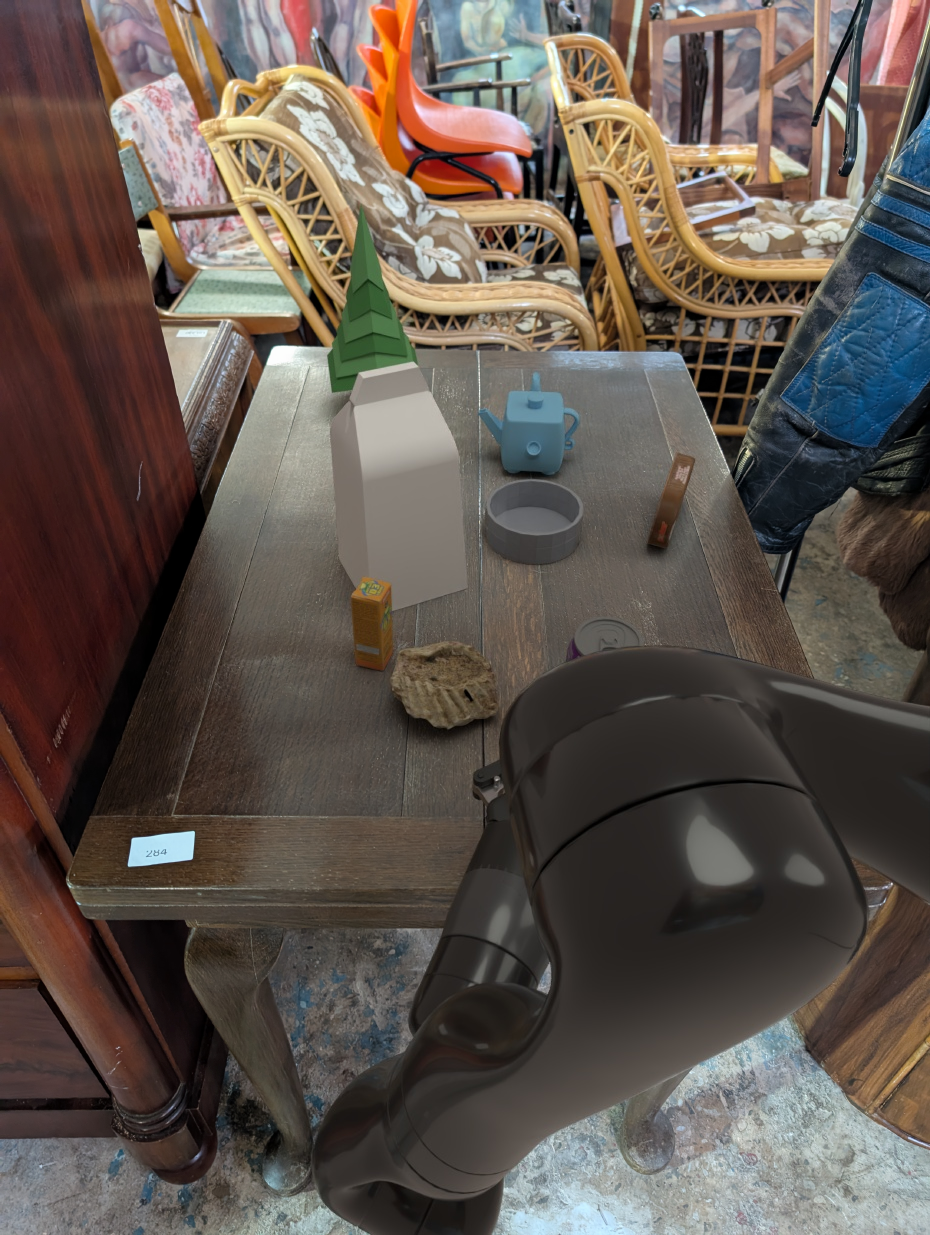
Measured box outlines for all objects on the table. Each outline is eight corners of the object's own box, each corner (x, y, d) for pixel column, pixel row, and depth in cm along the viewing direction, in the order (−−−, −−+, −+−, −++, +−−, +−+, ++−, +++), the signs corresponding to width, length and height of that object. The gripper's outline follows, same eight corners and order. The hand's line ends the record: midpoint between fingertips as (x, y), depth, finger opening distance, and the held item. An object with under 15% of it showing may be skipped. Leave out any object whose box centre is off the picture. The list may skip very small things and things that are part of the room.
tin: (664, 493, 108) (676, 438, 103) (687, 498, 108) (700, 443, 102) (642, 557, 98) (653, 500, 92) (667, 563, 97) (680, 506, 92)
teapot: (576, 497, 108) (584, 431, 101) (473, 492, 108) (474, 426, 101) (573, 430, 121) (580, 368, 114) (481, 426, 122) (482, 364, 115)
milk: (372, 617, 90) (350, 408, 72) (339, 559, 98) (312, 357, 80) (467, 588, 94) (469, 382, 76) (429, 535, 101) (422, 336, 84)
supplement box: (385, 673, 84) (379, 602, 77) (355, 666, 84) (346, 595, 78) (396, 651, 86) (391, 581, 79) (367, 645, 87) (359, 574, 80)
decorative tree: (351, 383, 132) (330, 184, 111) (439, 399, 128) (434, 195, 108) (312, 422, 122) (282, 211, 102) (406, 439, 119) (395, 225, 98)
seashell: (490, 752, 80) (509, 659, 83) (493, 736, 73) (514, 636, 77) (381, 728, 80) (405, 638, 84) (375, 710, 74) (401, 613, 78)
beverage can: (634, 755, 76) (655, 669, 68) (560, 754, 76) (572, 668, 68) (624, 699, 81) (643, 613, 73) (555, 698, 81) (565, 612, 73)
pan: (597, 548, 99) (602, 519, 96) (513, 575, 96) (515, 545, 92) (549, 499, 107) (551, 470, 104) (469, 521, 103) (469, 492, 100)
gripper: (610, 914, 51) (666, 720, 62) (421, 844, 54) (507, 672, 66) (596, 965, 56) (649, 777, 68) (424, 898, 59) (503, 730, 71)
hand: (579, 725), depth 67 cm, fingers closed
